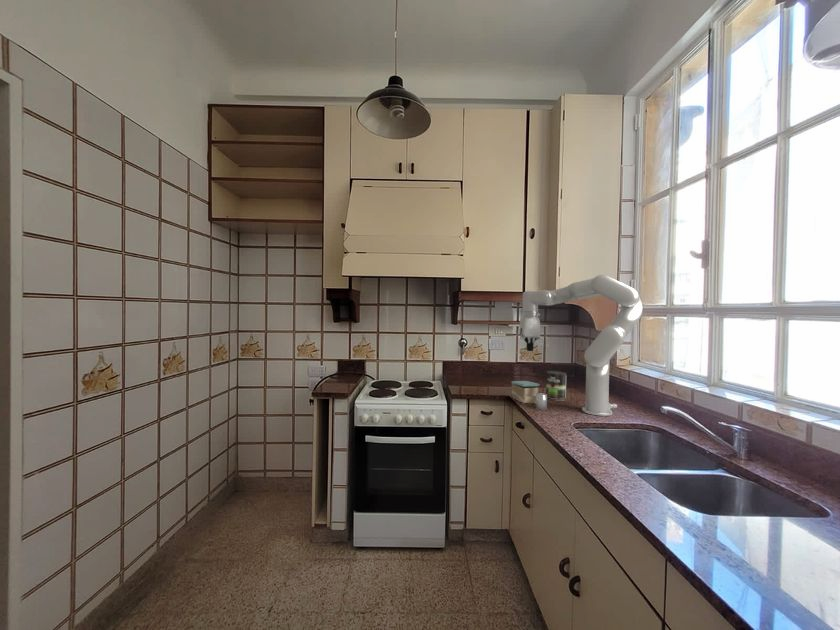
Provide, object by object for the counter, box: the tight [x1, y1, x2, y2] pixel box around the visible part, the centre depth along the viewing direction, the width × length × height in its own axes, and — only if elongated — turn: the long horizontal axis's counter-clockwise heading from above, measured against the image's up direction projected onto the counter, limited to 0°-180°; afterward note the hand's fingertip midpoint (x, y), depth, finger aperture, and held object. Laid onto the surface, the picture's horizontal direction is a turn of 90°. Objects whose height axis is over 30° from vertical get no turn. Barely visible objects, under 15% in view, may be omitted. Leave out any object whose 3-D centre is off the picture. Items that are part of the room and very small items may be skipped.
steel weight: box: [535, 392, 548, 410], centre depth 165 cm, size 5×5×7 cm
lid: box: [511, 380, 541, 387], centre depth 180 cm, size 9×12×1 cm
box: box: [511, 383, 540, 404], centre depth 180 cm, size 9×12×8 cm
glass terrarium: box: [545, 370, 567, 399], centre depth 186 cm, size 10×10×14 cm
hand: (530, 350), depth 176 cm, fingers closed
